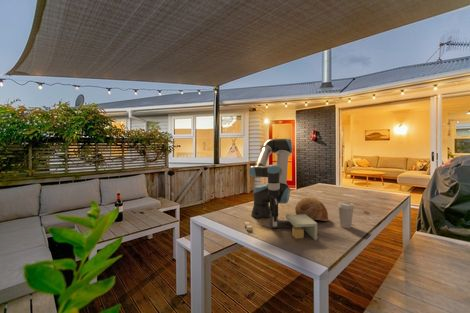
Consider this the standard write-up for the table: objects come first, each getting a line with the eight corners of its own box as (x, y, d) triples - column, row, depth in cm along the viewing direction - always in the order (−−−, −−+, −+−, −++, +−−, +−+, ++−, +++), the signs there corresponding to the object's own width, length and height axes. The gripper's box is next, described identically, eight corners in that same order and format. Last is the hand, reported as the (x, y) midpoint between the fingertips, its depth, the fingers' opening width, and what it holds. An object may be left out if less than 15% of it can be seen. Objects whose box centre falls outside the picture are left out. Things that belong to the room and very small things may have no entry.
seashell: (312, 210, 176) (315, 192, 172) (331, 224, 158) (335, 205, 153) (289, 213, 169) (292, 195, 164) (306, 229, 150) (310, 208, 146)
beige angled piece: (285, 230, 143) (285, 215, 142) (305, 228, 144) (305, 214, 143) (295, 241, 127) (295, 224, 126) (317, 239, 128) (317, 223, 128)
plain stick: (244, 226, 151) (244, 222, 151) (248, 225, 152) (248, 221, 151) (247, 232, 141) (247, 227, 141) (252, 231, 142) (252, 227, 142)
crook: (270, 225, 148) (269, 210, 147) (297, 224, 149) (297, 209, 149) (274, 231, 138) (273, 215, 137) (303, 229, 140) (303, 214, 139)
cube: (292, 234, 135) (292, 226, 135) (300, 234, 136) (300, 226, 136) (295, 238, 131) (295, 230, 130) (303, 238, 131) (303, 229, 131)
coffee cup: (357, 228, 143) (357, 205, 142) (343, 229, 141) (343, 206, 140) (347, 223, 152) (347, 201, 151) (334, 224, 151) (334, 202, 150)
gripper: (264, 186, 152) (265, 220, 154) (271, 192, 136) (271, 230, 137) (275, 186, 153) (275, 220, 155) (283, 191, 136) (283, 229, 138)
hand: (273, 224), depth 146 cm, fingers closed on crook, 4 cm apart
